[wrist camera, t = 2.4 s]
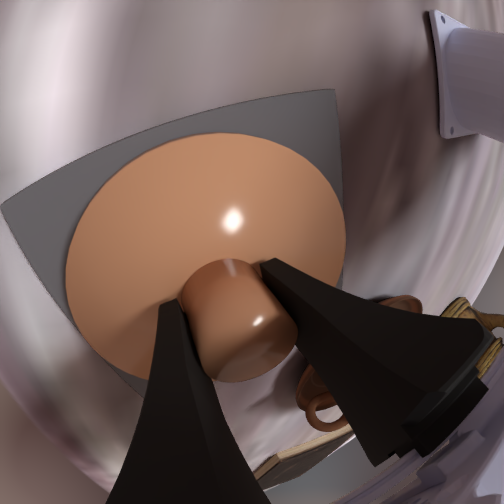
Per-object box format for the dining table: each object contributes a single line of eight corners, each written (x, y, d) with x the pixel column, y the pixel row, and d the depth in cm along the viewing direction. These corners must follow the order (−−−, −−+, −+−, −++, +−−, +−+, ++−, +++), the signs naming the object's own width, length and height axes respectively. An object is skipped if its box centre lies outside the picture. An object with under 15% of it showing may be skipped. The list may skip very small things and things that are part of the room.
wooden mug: (481, 271, 29) (560, 340, 15) (433, 345, 34) (501, 418, 19) (472, 261, 24) (571, 347, 10) (412, 352, 29) (494, 442, 15)
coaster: (328, 88, 9) (334, 89, 8) (336, 311, 16) (340, 315, 15) (4, 201, 6) (-1, 206, 6) (145, 395, 13) (146, 401, 13)
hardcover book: (230, 488, 38) (235, 497, 36) (272, 449, 29) (280, 463, 27) (297, 467, 46) (302, 475, 44) (354, 417, 37) (361, 427, 35)
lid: (325, 102, 8) (405, 115, 6) (333, 313, 15) (373, 357, 12) (15, 213, 6) (-33, 278, 3) (150, 394, 12) (166, 453, 10)
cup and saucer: (304, 407, 23) (337, 456, 18) (261, 359, 15) (313, 445, 11) (402, 335, 24) (440, 374, 19) (410, 251, 17) (477, 302, 12)
